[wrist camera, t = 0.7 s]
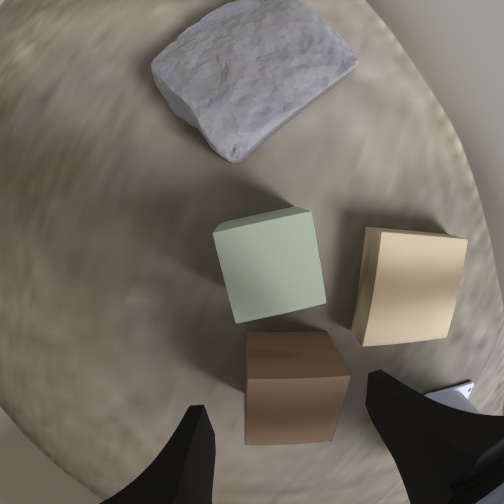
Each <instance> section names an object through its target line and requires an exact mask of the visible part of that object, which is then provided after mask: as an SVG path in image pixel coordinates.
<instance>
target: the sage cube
mask: <svg viewBox="0 0 504 504" xmlns="http://www.w3.org/2000/svg"><path fill="white" fill-rule="evenodd" d="M213 237H214V242H215V246H216V250H217V254H218V258H219V262H220V266H221V269H222V273H223V277H224V281H225V285H226V289H227V293H228V296H229V300H230V304H231V308H232V311H233V315H234V319H235V323H236V324H237V323H242V322H247V321H252V320H256V319H261V318H266V317H270V316H275V315H279V314H283V313H288V312H292V311H296V310H301V309H305V308H309V307H313V306H317V305H321V304H325V303H326V296H325V289H324V283H323V276H322V270H321V264H320V258H319V252H318V246H317V240H316V235H315V229H314V224H313V219H312V214H311V211H309V210H305V209H302V208H298V207H295V206H294V207H289V208H284V209H280V210H275V211H270V212H266V213H261V214H257V215H252V216H248V217H243V218H239V219H234V220H230V221H226V222H221V223H220V224H219V225H218V226H217V228H216V229H215V230H214V232H213Z"/></svg>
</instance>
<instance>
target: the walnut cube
mask: <svg viewBox="0 0 504 504" xmlns="http://www.w3.org/2000/svg"><path fill="white" fill-rule="evenodd" d="M350 377H351V374H350V373H349V371H348V369H347V367H346V365H345V363H344V362H343V360H342V358H341V356H340V354H339V353H338V351H337V349H336V347H335V345H334V344H333V342H332V340H331V338H330V336H329V335H328V333H327V331H313V332H270V331H247V343H246V367H245V391H244V411H245V445H283V444H301V443H314V442H324V441H332V438H333V435H334V432H335V429H336V426H337V423H338V420H339V416H340V413H341V410H342V406H343V403H344V400H345V396H346V392H347V389H348V385H349V381H350Z"/></svg>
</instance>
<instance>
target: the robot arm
mask: <svg viewBox="0 0 504 504" xmlns="http://www.w3.org/2000/svg"><path fill="white" fill-rule="evenodd" d="M473 386H474V383H473V382H472V381H471V382H468V383H464V384H461V385H458V386H454V387H451V388H447V389H443V390H440V391H436V392H432V393H428V394H425V395H422V394H420V393H418V392H416V391H415V390H413V389H411V388H409V387H408V386H406V385H405V384H403V383H401V382H400V381H398V380H397V379H395V378H393V377H392V376H390V375H389V374H387V373H386V372H384V371H382V370H381V369H380V370H377V371H374V372H371V373H368V384H367V395H366V404H365V405H366V408H367V410H368V413H369V415H370V417H371V420H372V422H373V424H374V426H375V427H376V429H377V431H378V433H379V434H380V436H381V438H382V439H383V441H384V443H385V444H386V446H387V448H388V450H389V451H390V453H391V455H392V457H393V458H394V460H395V462H396V465H397V467H398V470H399V472H400V475H401V477H402V480H403V483H404V485H405V488H406V491H407V494H408V497H409V500H410V504H504V416H492V415H483V414H481V413H480V412H479V411H478V410H477V409H476V408H475V407H474V406H473V405H472V404H471V403H470V401H469V400H468V397H469V394H470V392H471V390H472V388H473ZM215 454H216V451H215V433H214V431H213V428H212V425H211V423H210V420H209V417H208V415H207V412H206V409H205V407H204V405H193V406H189V408H188V409H187V411H186V413H185V415H184V417H183V418H182V420H181V422H180V424H179V425H178V427H177V429H176V430H175V432H174V433H173V435H172V436H171V438H170V440H169V441H168V443H167V444H166V445H165V447H164V448H163V449H162V451H161V452H160V453H159V455H158V456H157V457H156V458H155V460H154V461H153V462H152V463H151V464H150V465H149V466H148V467H147V468H146V469H145V470H144V471H143V472H142V473H141V474H140V475H139V476H138V477H137V478H136V479H135V480H134V481H133V482H131V483H130V484H129V485H128V486H126V487H125V488H124V489H122V490H121V491H119V492H118V493H117V494H115V495H114V496H112V497H110V498H109V499H107V500H105V501H103V502H101V503H100V504H212V487H213V477H214V466H215Z"/></svg>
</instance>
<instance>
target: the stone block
mask: <svg viewBox="0 0 504 504" xmlns="http://www.w3.org/2000/svg"><path fill="white" fill-rule="evenodd" d="M358 65H359V58H358V56H357V54H356V52H355V51H354V49H353V47H352V46H351V45H350V44H349V43H347V42H346V41H345V40H344V39H343V38H342V37H341V35H339V34H338V33H336V32H335V31H334V30H333V29H332V28H331V27H330V26H329V25H328V24H326V23H325V22H324V21H323V20H322V19H321V18H320V17H318V16H317V15H316V14H315V13H314V12H313V11H312V10H311V9H309V8H308V7H306V6H305V5H304V4H302V3H300V2H298V1H297V0H237V1H235V2H231V3H227V4H224V5H222V6H220V7H219V8H217V9H215V10H213V11H212V12H210V13H208V14H207V15H206V16H205V17H203V18H202V19H201V21H199V22H197V23H195V24H194V25H192V26H190V27H188V28H187V29H186V30H185V31H184V32H183V33H181V34H180V35H179V36H178V38H177V39H176V40H175V41H174V42H172V43H170V44H169V45H168V46H167V47H166V48H165V49H164V50H163V51H162V52H161V53H160V54H159V55H158V56H157V57H156V58H155V59H154V60H153V61H152V63H151V72H152V74H153V77H154V82H155V84H156V86H157V88H158V89H159V90H160V92H161V94H162V96H163V97H164V98H165V99H166V101H167V102H168V104H169V107H170V108H171V109H172V110H173V112H174V114H175V115H177V116H179V117H180V118H182V119H183V120H185V121H186V122H188V124H189V125H190V126H193V127H195V128H197V129H198V130H199V131H200V132H201V133H202V135H203V136H204V137H205V139H206V140H207V142H208V144H209V146H210V147H211V148H212V149H213V150H214V151H215V152H216V153H218V154H219V155H220V156H221V157H223V158H224V159H226V160H228V161H229V162H231V163H234V164H235V163H240V162H241V161H243V160H244V159H245V158H246V157H247V156H248V155H249V154H251V153H252V152H253V151H254V150H255V149H256V148H258V147H259V146H260V145H261V144H262V143H263V142H265V141H266V140H267V139H268V138H269V137H270V136H272V135H273V134H274V133H275V132H277V131H278V130H279V129H280V128H281V127H283V126H284V125H285V124H286V123H288V122H289V121H290V120H291V119H293V118H294V117H295V116H296V115H298V114H299V113H300V112H301V111H303V110H304V109H305V108H307V107H308V106H309V105H310V104H311V103H313V102H314V101H315V100H317V99H318V98H319V97H321V96H322V95H323V94H325V93H326V92H327V91H329V90H330V89H332V88H333V87H334V86H336V85H337V84H338V83H340V82H341V81H343V80H344V79H345V78H347V77H348V76H349V75H350V74H351V73H353V71H354V70H355V69H356V67H357V66H358Z"/></svg>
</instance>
